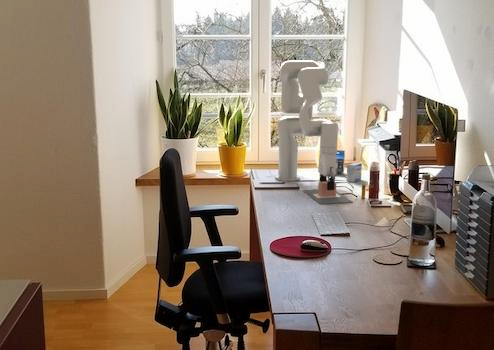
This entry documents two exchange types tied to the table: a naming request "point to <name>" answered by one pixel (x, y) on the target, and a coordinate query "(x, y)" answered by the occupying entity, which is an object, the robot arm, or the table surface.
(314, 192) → the mat
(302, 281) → the table surface
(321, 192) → the card box
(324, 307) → the table surface
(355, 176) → the medicine box
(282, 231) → the table surface
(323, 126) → the robot arm
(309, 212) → the table surface
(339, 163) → the label tape box
